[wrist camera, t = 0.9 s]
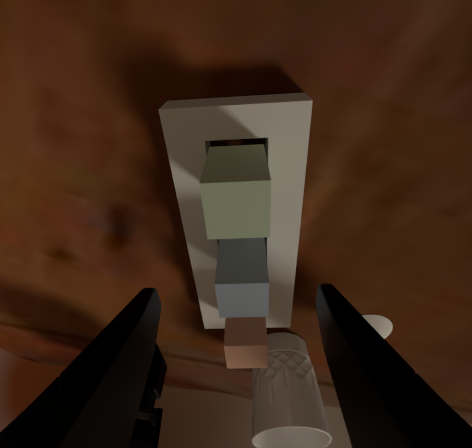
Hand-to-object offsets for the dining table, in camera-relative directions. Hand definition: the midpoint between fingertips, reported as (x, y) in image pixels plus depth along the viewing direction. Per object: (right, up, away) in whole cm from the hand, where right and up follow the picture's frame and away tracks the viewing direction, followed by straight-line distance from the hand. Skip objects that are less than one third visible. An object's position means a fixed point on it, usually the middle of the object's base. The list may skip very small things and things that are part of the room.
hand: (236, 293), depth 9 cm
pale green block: (0, +6, +8) cm, 10 cm away
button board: (+1, +2, +15) cm, 15 cm away
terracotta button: (+1, -5, +16) cm, 17 cm away
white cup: (+6, -13, +26) cm, 29 cm away
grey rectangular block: (+1, 0, +12) cm, 12 cm away
